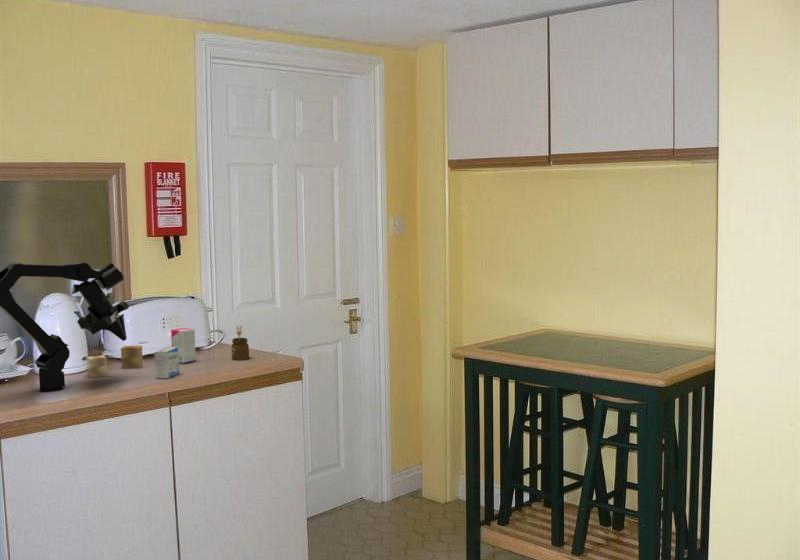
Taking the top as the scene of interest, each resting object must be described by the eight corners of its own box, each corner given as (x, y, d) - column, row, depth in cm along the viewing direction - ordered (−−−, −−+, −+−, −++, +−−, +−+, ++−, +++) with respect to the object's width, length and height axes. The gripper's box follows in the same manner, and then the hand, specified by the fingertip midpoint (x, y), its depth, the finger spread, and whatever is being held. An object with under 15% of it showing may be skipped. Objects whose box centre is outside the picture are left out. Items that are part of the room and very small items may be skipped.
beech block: (90, 378, 274) (89, 359, 273) (88, 375, 278) (87, 356, 277) (107, 376, 276) (106, 357, 275) (104, 373, 280) (103, 355, 280)
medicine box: (168, 379, 270) (167, 351, 269) (155, 378, 271) (154, 351, 270) (179, 373, 278) (178, 347, 277) (167, 373, 279) (165, 346, 278)
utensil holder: (249, 356, 304) (248, 323, 303) (248, 360, 298) (247, 325, 297) (232, 357, 303) (231, 323, 302) (231, 361, 297) (230, 326, 296)
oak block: (121, 369, 287) (120, 348, 286) (124, 366, 291) (123, 346, 290) (140, 368, 287) (139, 347, 287) (143, 366, 291) (141, 345, 291)
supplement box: (196, 361, 297) (195, 328, 296) (183, 364, 292) (182, 330, 291) (184, 359, 301) (183, 327, 299) (171, 362, 296) (170, 329, 294)
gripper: (87, 301, 276) (115, 341, 279) (62, 320, 258) (92, 363, 261) (115, 284, 274) (143, 325, 277) (91, 302, 256) (122, 346, 259)
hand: (125, 340), depth 269 cm, fingers closed
